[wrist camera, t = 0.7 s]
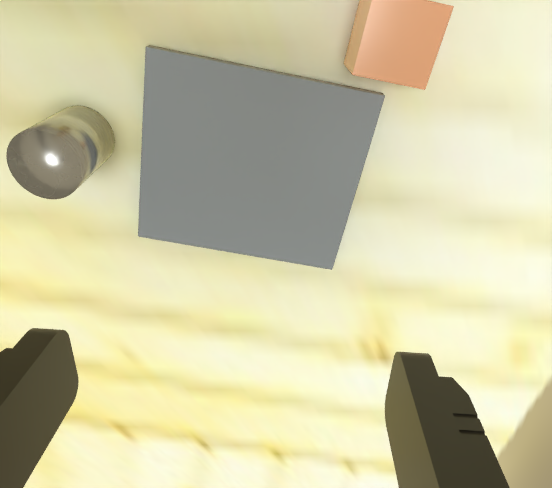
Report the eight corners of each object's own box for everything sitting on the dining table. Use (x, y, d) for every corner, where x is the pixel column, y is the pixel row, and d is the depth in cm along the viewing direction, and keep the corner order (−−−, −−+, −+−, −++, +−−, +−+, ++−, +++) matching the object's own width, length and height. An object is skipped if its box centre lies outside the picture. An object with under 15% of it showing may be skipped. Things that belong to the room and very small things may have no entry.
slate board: (141, 231, 41) (138, 236, 40) (149, 45, 33) (145, 46, 32) (331, 263, 42) (332, 269, 42) (382, 93, 34) (384, 95, 34)
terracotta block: (343, 63, 34) (352, 74, 29) (362, -12, 31) (375, -12, 27) (407, 76, 34) (424, 89, 30) (430, 3, 32) (453, 6, 27)
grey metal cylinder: (54, 159, 38) (10, 192, 32) (51, 99, 35) (2, 123, 29) (114, 170, 38) (82, 204, 32) (114, 112, 36) (79, 137, 30)
